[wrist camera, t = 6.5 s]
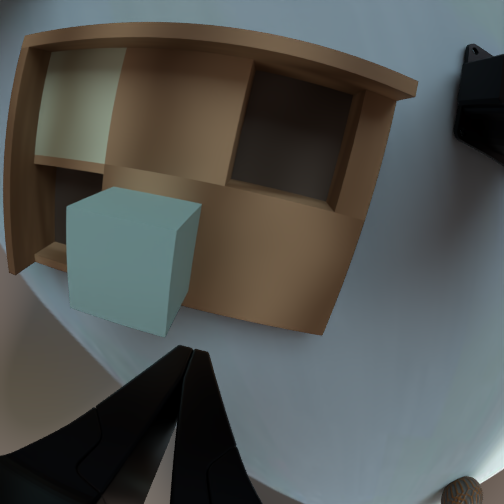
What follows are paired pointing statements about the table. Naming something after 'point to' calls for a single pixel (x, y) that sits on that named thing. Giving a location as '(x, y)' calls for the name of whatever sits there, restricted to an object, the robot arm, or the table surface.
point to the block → (131, 257)
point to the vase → (463, 492)
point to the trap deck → (205, 153)
